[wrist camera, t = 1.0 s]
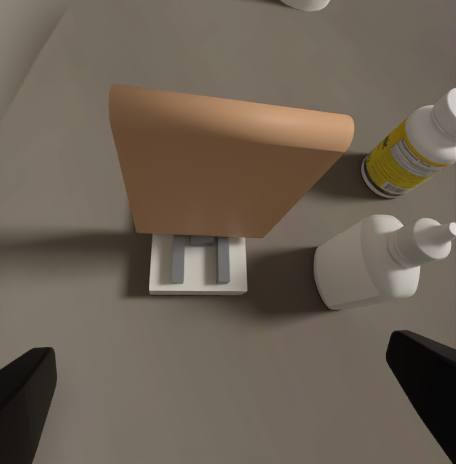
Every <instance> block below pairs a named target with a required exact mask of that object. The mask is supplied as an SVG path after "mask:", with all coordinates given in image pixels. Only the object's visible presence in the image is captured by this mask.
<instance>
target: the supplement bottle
mask: <svg viewBox="0 0 456 464" xmlns="http://www.w3.org/2000/svg"><path fill="white" fill-rule="evenodd" d="M454 162H456V88H454V89H452V90H450V91H449V92H447V93H446V94H445V95H444V96H443V97H442V98H441V99H439V100H438V101H437V102H436V103H435V105H430V106H424V107H421V108H419V109H417V110H416V111H414V112H413V113H412V114H411V115H410V116H408V117H407V118H406V119H405V120H404V121H403V122H402V123H401V124H400V125H399V126H398V127H397V128H396V129H395V130H393V131H392V132H391V133H390V134H389V135H388V136H387V137H386V138H385V139H384V140H383V141H382V142H381V143H380V144H379V145H378V146H376V147H375V148H374V149H373V150H372V151H371V152H370V153H369V154H368V155H367V156H366V157H365V159H364V160H363V162H362V166H361V173H362V176H363V179H364V181H365V183H366V184H367V185H368V187H369V188H370V189H371V190H372V191H374V192H375V193H376V194H378V195H380V196H383V197H386V198H397V197H400V196H402V195H404V194H405V193H407V192H409V191H410V190H412V189H413V188H415V187H416V186H418V185H420V184H421V183H423V182H424V181H426V180H428V179H429V178H431V177H432V176H434V175H435V174H437V173H438V172H440V171H442V170H443V169H445V168H446V167H448V166H450V165H451V164H453V163H454Z"/></svg>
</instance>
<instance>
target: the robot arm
mask: <svg viewBox="0 0 456 464" xmlns="http://www.w3.org/2000/svg"><path fill="white" fill-rule="evenodd" d="M386 361H387V363H388V365H389V367H390V369H391V370H392V372H393V374H394V375H395V377H396V379H397V380H398V382H399V384H400V385H401V387H402V389H403V390H404V392H405V394H406V395H407V397H408V399H409V400H410V402H411V404H412V405H413V407H414V408H415V410H416V412H417V413H418V415H419V416H420V418H421V419H422V421H423V422H424V424H425V425H426V427H427V428H428V429H429V431H430V432H431V434H432V435H433V436H434V438H435V439H436V441H437V442H438V443H439V445H440V446H441V448H442V449H443V451H444V452H445V453H446V455H447V456H448V458H449V459H450V460H451V462H452V463H453V464H456V349H453V348H451V347H448V346H446V345H443V344H441V343H438V342H436V341H434V340H431V339H429V338H426V337H424V336H421V335H419V334H416V333H414V332H411V331H408V330H398V331H394V332H393V333H392V334H391V337H390V340H389V344H388V348H387V351H386ZM56 383H57V371H56V360H55V352H54V349H53V348H52V347H40V348H32V349H31V350H29V351H28V352H26V353H25V354H23V355H22V356H20V357H18V358H17V359H15V360H14V361H12V362H11V363H9V364H8V365H6V366H5V367H3V368H2V369H0V464H32V462H33V459H34V456H35V453H36V450H37V447H38V444H39V440H40V437H41V434H42V431H43V427H44V424H45V421H46V417H47V414H48V411H49V407H50V404H51V401H52V398H53V394H54V391H55V388H56Z"/></svg>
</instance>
